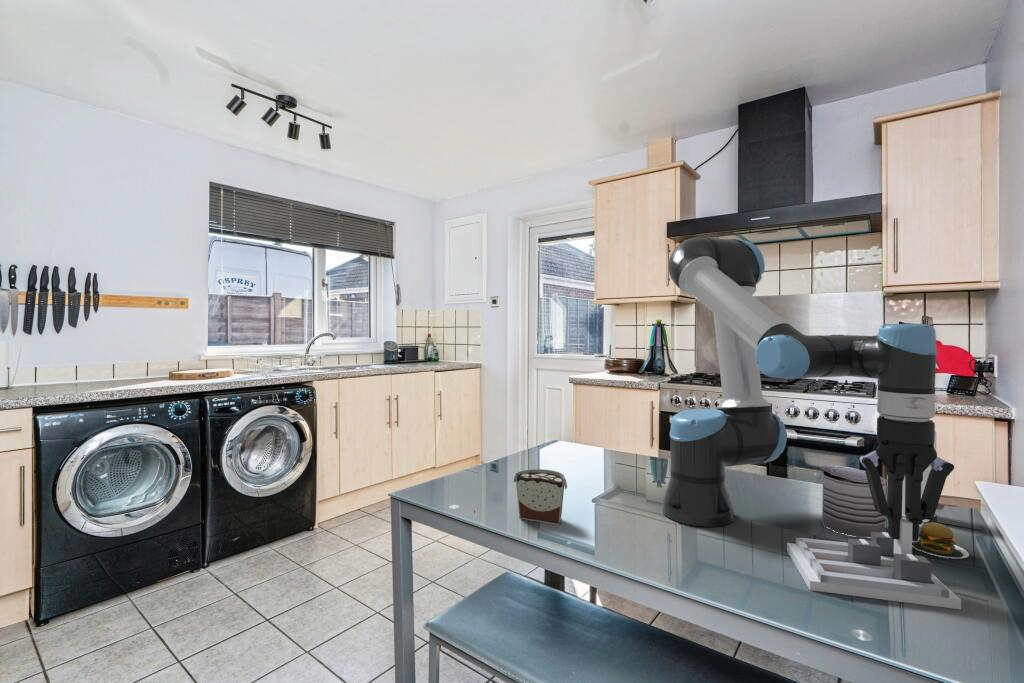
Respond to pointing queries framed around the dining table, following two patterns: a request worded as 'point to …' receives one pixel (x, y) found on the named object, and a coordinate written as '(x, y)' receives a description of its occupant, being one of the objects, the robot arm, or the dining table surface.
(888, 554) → the breaker far
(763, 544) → the dining table surface
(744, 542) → the dining table surface
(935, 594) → the panel
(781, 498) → the dining table surface
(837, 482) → the can
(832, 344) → the robot arm
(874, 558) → the breaker mid
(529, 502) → the food container
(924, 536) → the hamburger
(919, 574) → the breaker near
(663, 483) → the dining table surface
